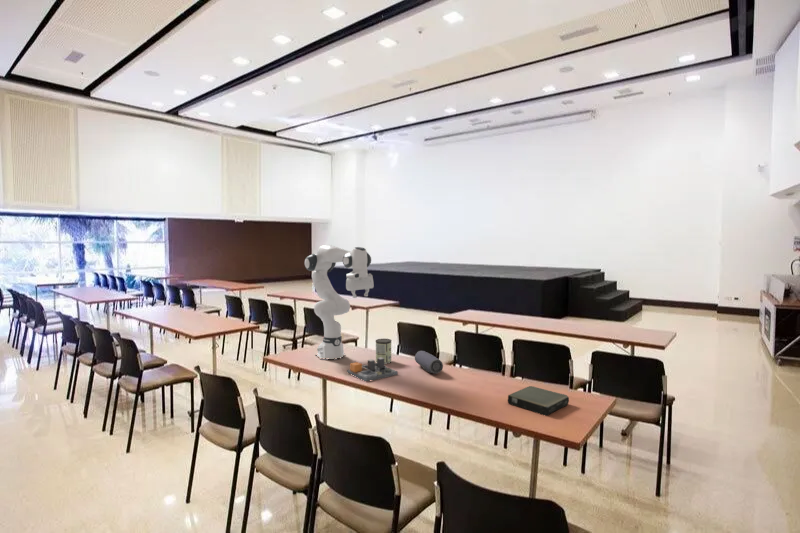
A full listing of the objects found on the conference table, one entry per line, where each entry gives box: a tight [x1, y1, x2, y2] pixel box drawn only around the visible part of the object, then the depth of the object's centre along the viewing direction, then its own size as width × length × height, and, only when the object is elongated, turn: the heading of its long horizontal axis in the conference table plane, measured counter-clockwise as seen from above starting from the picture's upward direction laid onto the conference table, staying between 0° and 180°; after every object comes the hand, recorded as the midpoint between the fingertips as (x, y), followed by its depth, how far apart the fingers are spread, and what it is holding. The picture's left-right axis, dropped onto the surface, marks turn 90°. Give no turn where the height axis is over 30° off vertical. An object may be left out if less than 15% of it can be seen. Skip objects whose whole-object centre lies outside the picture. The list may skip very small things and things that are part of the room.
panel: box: [346, 362, 398, 382], centre depth 264 cm, size 20×22×3 cm
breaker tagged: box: [367, 358, 376, 371], centre depth 264 cm, size 3×3×6 cm
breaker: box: [377, 357, 385, 369], centre depth 269 cm, size 3×3×6 cm
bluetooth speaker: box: [414, 350, 444, 375], centre depth 271 cm, size 23×9×10 cm, turn 22°
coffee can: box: [375, 338, 392, 365], centre depth 290 cm, size 10×10×14 cm
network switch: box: [507, 385, 570, 417], centre depth 217 cm, size 23×23×5 cm
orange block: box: [349, 361, 363, 372], centre depth 264 cm, size 5×5×4 cm
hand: (360, 297), depth 272 cm, fingers open, 8 cm apart
